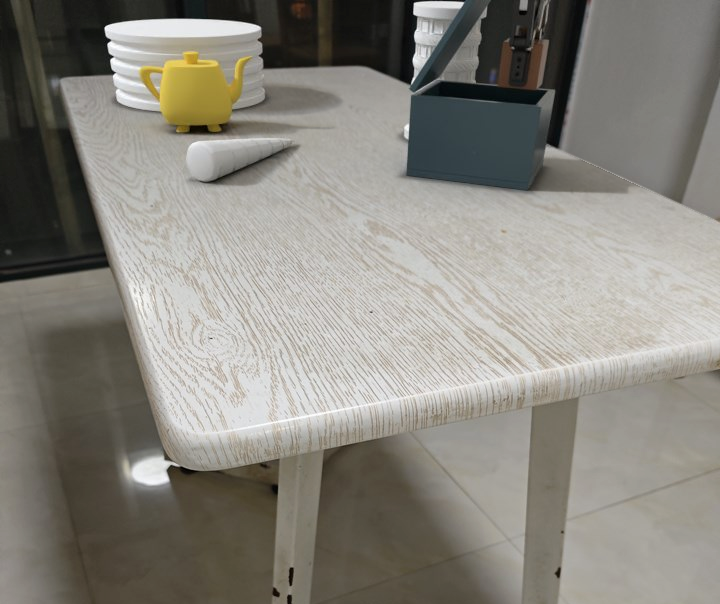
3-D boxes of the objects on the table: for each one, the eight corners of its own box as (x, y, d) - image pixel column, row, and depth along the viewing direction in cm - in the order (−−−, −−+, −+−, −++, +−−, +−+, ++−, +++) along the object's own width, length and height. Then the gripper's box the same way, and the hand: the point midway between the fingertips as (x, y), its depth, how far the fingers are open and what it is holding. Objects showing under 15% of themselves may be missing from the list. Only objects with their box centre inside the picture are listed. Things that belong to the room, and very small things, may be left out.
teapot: (254, 118, 123) (250, 47, 116) (259, 133, 114) (255, 57, 108) (148, 120, 120) (137, 47, 113) (145, 135, 111) (133, 57, 105)
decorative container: (408, 145, 110) (416, 7, 99) (400, 128, 119) (406, 0, 108) (481, 146, 111) (497, 9, 100) (467, 129, 120) (481, 1, 109)
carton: (542, 84, 93) (549, 39, 90) (536, 90, 89) (543, 44, 86) (504, 81, 94) (510, 37, 91) (497, 87, 90) (503, 41, 87)
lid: (524, -50, 89) (490, -82, 88) (505, -48, 79) (467, -84, 78) (439, 77, 100) (409, 50, 100) (413, 93, 91) (380, 63, 90)
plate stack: (119, 85, 144) (107, 18, 137) (256, 83, 149) (252, 18, 142) (114, 114, 123) (100, 37, 116) (274, 110, 128) (270, 36, 121)
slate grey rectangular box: (542, 166, 102) (555, 89, 96) (527, 190, 93) (541, 107, 87) (430, 153, 107) (436, 79, 100) (406, 175, 97) (410, 95, 91)
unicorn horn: (314, 147, 108) (313, 113, 105) (214, 186, 92) (210, 146, 89) (288, 143, 110) (287, 109, 107) (186, 180, 93) (181, 141, 90)
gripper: (570, -86, 75) (541, 94, 85) (584, -84, 85) (557, 76, 96) (500, -87, 77) (480, 89, 87) (523, -85, 87) (502, 72, 98)
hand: (520, 81), depth 91 cm, fingers closed on carton, 5 cm apart
